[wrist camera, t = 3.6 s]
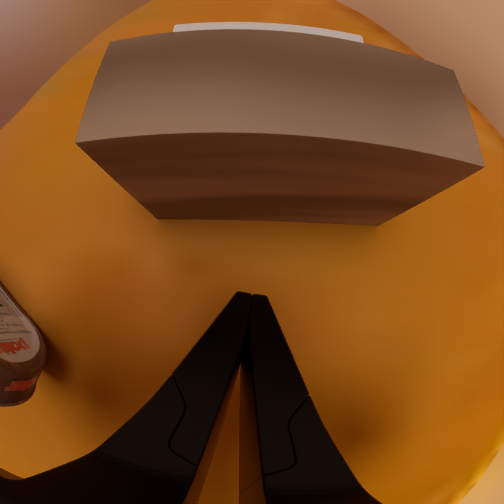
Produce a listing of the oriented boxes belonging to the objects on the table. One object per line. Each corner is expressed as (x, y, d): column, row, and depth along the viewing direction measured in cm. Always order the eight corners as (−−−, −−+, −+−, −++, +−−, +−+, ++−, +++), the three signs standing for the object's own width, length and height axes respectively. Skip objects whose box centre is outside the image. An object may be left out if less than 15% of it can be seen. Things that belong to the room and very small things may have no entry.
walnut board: (377, 226, 16) (484, 167, 7) (158, 219, 16) (75, 142, 7) (371, 160, 16) (453, 70, 8) (165, 152, 16) (110, 42, 7)
